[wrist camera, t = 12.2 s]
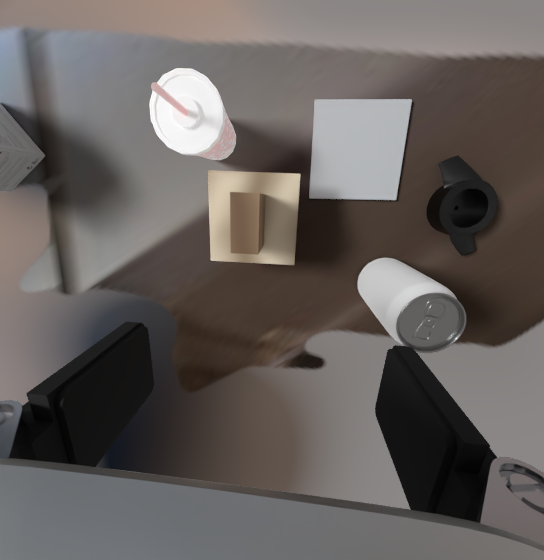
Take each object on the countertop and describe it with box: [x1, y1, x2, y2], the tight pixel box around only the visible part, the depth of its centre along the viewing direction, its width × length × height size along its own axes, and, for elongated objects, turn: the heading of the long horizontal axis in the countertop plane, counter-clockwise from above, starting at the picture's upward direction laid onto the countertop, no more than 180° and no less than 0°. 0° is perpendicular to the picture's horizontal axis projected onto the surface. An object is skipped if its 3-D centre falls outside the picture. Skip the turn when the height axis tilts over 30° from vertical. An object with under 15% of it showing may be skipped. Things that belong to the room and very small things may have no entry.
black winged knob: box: [427, 156, 498, 255], centre depth 29 cm, size 8×10×3 cm
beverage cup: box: [149, 68, 236, 160], centre depth 22 cm, size 6×6×14 cm
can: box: [358, 258, 466, 353], centre depth 27 cm, size 6×6×12 cm
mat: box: [309, 99, 412, 200], centre depth 28 cm, size 10×10×1 cm
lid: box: [208, 170, 300, 265], centre depth 24 cm, size 9×9×6 cm
